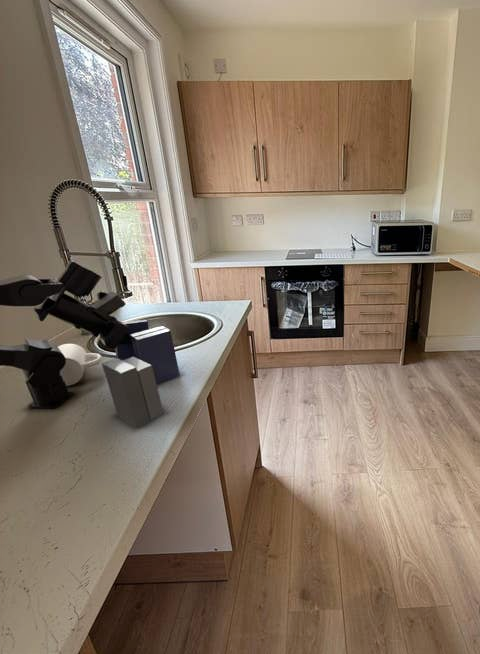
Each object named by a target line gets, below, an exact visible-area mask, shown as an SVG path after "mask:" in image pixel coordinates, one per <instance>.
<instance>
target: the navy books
mask: <svg viewBox="0 0 480 654" xmlns="http://www.w3.org/2000/svg"><path fill="white" fill-rule="evenodd" d="M130 336H131V340H132V344H133V348H134V352H135V356H136V358H137V359H139V360H142V361H144V362H146V363H148V364H150V365H152V368H153V372H154V376H155V380H156V384H157V385H159V384H162V383H165V382H167V381H170V380H173V379H175V378H178V377H180V376H181V373H180V368H179V363H178V359H177V355H176V350H175V345H174V340H173V335H172V331H171V329H169V328H167V327H165V326H163V325H160V326H157V327H154V328H149V330H145V331H142V332H138V333H134V334H131V335H130Z"/></svg>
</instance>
